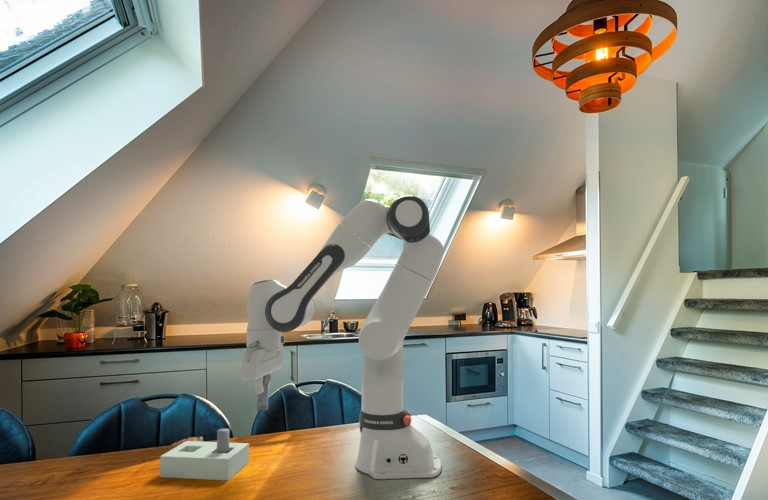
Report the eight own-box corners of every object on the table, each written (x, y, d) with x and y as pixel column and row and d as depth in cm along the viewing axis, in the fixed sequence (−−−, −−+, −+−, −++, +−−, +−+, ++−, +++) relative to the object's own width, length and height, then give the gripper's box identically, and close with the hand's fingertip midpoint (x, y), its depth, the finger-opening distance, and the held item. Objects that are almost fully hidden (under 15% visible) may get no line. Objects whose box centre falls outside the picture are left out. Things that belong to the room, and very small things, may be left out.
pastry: (166, 457, 129) (166, 442, 130) (170, 449, 136) (170, 436, 136) (202, 453, 132) (202, 439, 132) (204, 446, 139) (204, 433, 139)
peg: (269, 408, 125) (270, 370, 126) (265, 411, 122) (266, 372, 123) (259, 407, 126) (259, 370, 127) (254, 410, 123) (255, 372, 124)
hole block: (248, 462, 124) (249, 424, 125) (228, 480, 113) (229, 438, 113) (186, 459, 127) (187, 422, 128) (159, 477, 115) (161, 435, 116)
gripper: (259, 344, 115) (258, 401, 114) (287, 336, 135) (286, 384, 134) (235, 344, 116) (234, 400, 115) (266, 336, 136) (265, 384, 135)
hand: (262, 391), depth 125 cm, fingers closed on peg, 3 cm apart
